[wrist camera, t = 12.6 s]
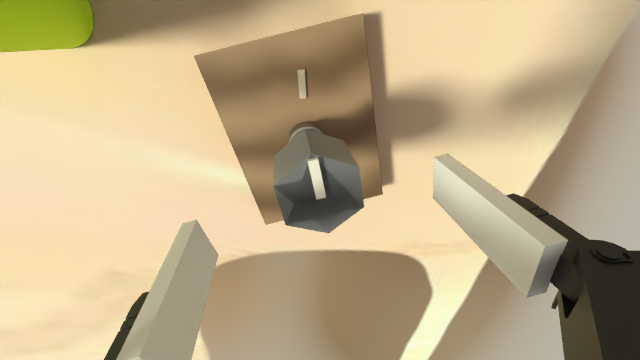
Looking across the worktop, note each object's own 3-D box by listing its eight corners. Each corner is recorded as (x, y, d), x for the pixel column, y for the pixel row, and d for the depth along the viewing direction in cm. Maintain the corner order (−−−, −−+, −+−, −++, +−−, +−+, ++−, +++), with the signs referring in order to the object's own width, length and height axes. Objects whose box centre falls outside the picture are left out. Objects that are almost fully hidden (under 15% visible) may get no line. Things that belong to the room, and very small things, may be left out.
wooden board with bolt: (200, 54, 22) (164, 62, 15) (356, 15, 22) (391, 5, 15) (266, 214, 31) (262, 264, 24) (377, 185, 31) (404, 227, 24)
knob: (350, 190, 21) (367, 227, 17) (289, 204, 21) (291, 245, 17) (340, 120, 18) (357, 145, 14) (268, 136, 18) (265, 166, 14)
